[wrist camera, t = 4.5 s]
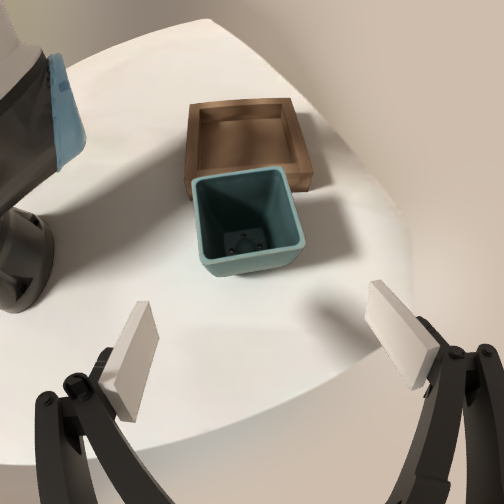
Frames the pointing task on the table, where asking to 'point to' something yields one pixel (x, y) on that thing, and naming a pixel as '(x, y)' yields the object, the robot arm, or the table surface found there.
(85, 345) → the table surface
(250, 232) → the flower pot
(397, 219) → the table surface
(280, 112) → the wooden tray
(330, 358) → the table surface
